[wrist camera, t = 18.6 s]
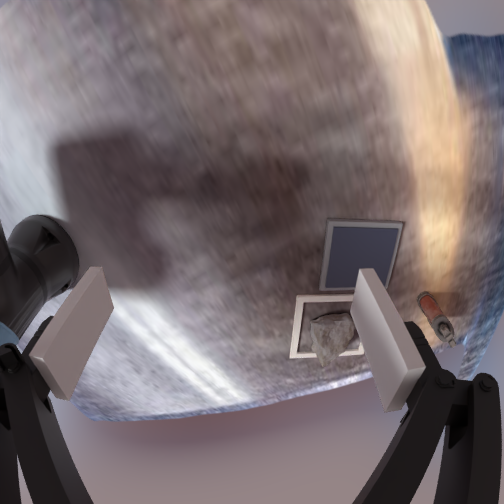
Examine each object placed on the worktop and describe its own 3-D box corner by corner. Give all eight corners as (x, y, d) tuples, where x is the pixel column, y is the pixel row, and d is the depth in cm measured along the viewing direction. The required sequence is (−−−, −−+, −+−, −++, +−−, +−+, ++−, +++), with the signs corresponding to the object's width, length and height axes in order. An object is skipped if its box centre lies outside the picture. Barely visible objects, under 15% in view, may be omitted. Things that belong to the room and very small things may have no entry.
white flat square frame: (289, 356, 58) (289, 358, 58) (296, 294, 51) (297, 296, 50) (362, 352, 58) (363, 354, 58) (380, 292, 51) (381, 294, 50)
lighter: (413, 299, 52) (435, 335, 43) (427, 287, 51) (451, 322, 42) (428, 320, 55) (448, 354, 46) (441, 310, 53) (462, 343, 45)
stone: (343, 346, 57) (349, 369, 52) (302, 347, 57) (306, 370, 52) (355, 308, 53) (364, 330, 47) (311, 307, 52) (316, 330, 47)
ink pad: (318, 287, 50) (320, 292, 49) (327, 218, 44) (329, 222, 43) (385, 285, 50) (388, 290, 49) (400, 220, 44) (403, 224, 43)
